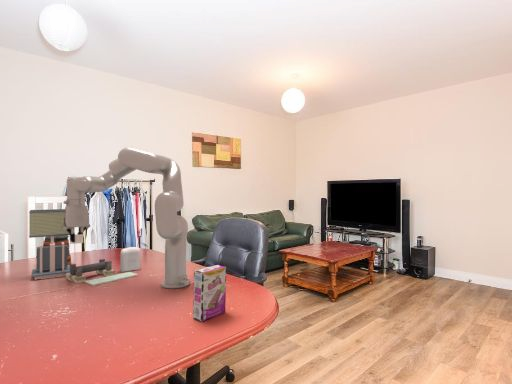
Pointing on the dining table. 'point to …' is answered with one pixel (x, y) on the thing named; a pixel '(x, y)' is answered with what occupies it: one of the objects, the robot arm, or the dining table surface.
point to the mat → (110, 278)
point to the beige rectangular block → (78, 239)
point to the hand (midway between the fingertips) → (76, 241)
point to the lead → (89, 268)
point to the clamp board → (81, 278)
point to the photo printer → (130, 259)
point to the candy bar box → (209, 292)
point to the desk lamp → (52, 256)
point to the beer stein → (58, 241)
